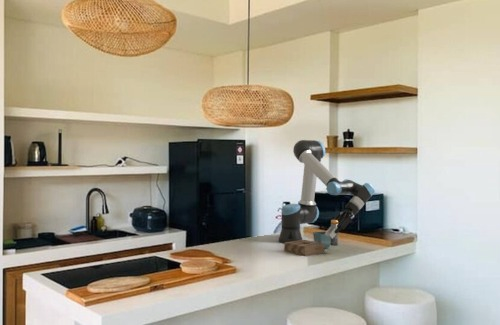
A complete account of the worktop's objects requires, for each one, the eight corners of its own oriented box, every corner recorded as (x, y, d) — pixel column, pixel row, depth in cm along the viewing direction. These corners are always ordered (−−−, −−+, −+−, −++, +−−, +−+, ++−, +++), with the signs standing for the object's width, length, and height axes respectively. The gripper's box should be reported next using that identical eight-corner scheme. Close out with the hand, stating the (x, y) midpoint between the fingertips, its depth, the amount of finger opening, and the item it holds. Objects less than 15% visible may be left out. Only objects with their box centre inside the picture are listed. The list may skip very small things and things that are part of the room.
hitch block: (284, 251, 270) (284, 242, 270) (303, 248, 280) (303, 239, 280) (304, 256, 257) (305, 246, 257) (324, 252, 268) (324, 243, 268)
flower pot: (325, 246, 288) (325, 231, 287) (333, 248, 279) (333, 233, 279) (312, 247, 284) (312, 232, 284) (320, 249, 276) (320, 234, 276)
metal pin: (329, 244, 267) (329, 220, 266) (333, 244, 269) (334, 219, 269) (334, 246, 263) (335, 220, 263) (339, 245, 266) (339, 220, 266)
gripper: (367, 212, 264) (340, 243, 258) (349, 208, 280) (324, 238, 274) (359, 202, 262) (332, 234, 256) (342, 199, 277) (316, 229, 272)
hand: (328, 236), depth 265 cm, fingers closed on metal pin, 4 cm apart
